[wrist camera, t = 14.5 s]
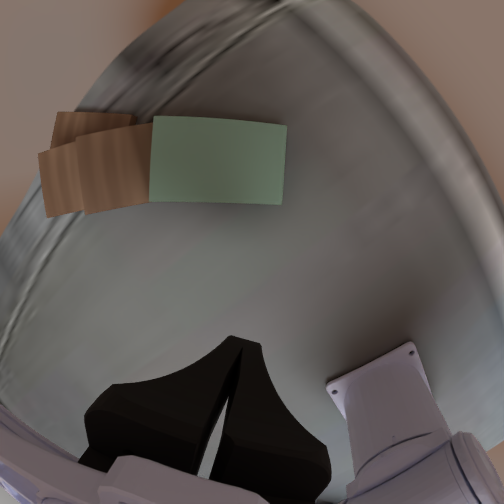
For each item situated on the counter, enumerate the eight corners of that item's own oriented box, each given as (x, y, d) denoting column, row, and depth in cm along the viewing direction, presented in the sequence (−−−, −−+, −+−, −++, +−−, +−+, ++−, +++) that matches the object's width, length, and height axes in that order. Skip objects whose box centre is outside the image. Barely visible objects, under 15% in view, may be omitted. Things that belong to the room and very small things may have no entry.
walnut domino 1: (132, 126, 18) (38, 153, 17) (141, 198, 19) (46, 218, 19) (138, 129, 19) (48, 153, 19) (147, 196, 21) (56, 214, 20)
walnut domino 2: (131, 114, 19) (57, 111, 20) (117, 181, 20) (47, 168, 21) (141, 118, 21) (68, 114, 21) (128, 180, 22) (58, 168, 22)
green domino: (287, 125, 18) (153, 115, 15) (281, 205, 19) (148, 201, 17) (278, 129, 19) (155, 120, 17) (273, 202, 20) (150, 199, 18)
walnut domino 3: (198, 117, 18) (75, 137, 15) (206, 193, 19) (85, 214, 17) (195, 121, 19) (81, 139, 17) (202, 191, 21) (89, 211, 18)
